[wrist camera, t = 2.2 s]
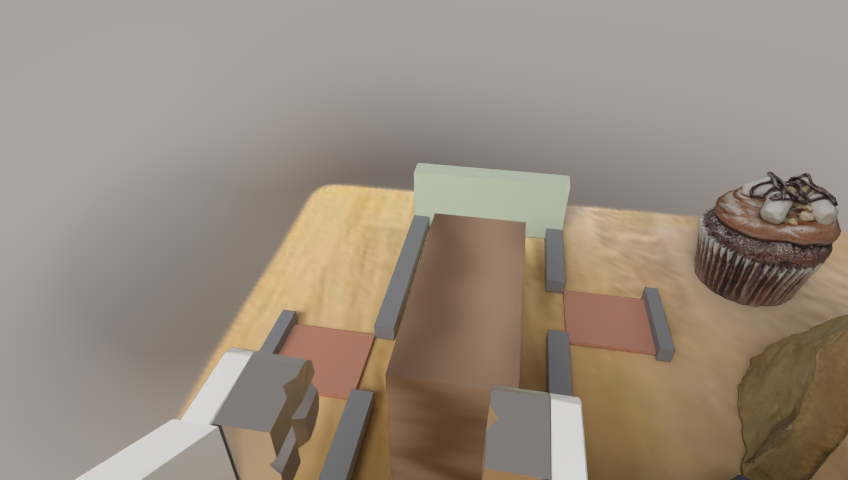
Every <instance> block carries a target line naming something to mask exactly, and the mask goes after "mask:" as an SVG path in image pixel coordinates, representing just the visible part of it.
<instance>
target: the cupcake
mask: <svg viewBox="0 0 848 480" xmlns="http://www.w3.org/2000/svg"><path fill="white" fill-rule="evenodd" d="M767 174H768V176H765V177H762V178H759V179H757V180H753V181H749V182H746V183H744V184H743V186H742V187H741V188H739V189H736V190H732V191H729V192H727V193H726V194H724V195H722V196H721V197H719V198H718V200H717V202H716V207H713V209H709V211H706V213H705V214H702V216H701V217H700V221H699V233H698V244H697V252H696V258H695V273H696V275H697V277H698V278H699V280H700V281H701V282H702V283H704V284H705V285H706V286H707V287H708V288H709V289H710V290H711V291H713V292H714V293H716V294H718V295H720V296H722V297H724V298H726V299H727V300H731V301H735V302H737V303H739V304H742V305H749V306H752V307H757V306H776V305H780V304H782V303H785V302H787V301H788V300H790V299H791V297H792V296H793V295H794V294H795V293H796V292H797V291H798V290H799V288H800V287H801V286H802V285H803V284H804V283H805V282H806V281H807V279H808V278H809V277H810V276H811V275H812V274H814V272H815V271H816V270H817V269H818V268H819V267H820V266H821V265H822V264H823V263H824V262H825V260H826V259H827V258H828V256H829V255H830V254H831V252H832V243H833V242H834V241H836V240H837V238H838V237H839V235H840V232H841V230H840V227H839V223H838V220H837V214H838V210H837V208H836V207H835V206H837V205H838V204H837V202H836V198H835V197H834V196H833V195H831V194H830V193H829V192H827V191H826V190H825V189H824V188H822V187H819V186H816V185H815V184H814V183H813V182H812V179H811V176H810V174H807V173H805V174H797V175H794V176H793V177H791V178H790V179H789V180H788V181H787V182H783V181H782V180H781V179H780V178H778V177H777V176H776V175H775V174H773V173H771V172H768V173H767Z"/></svg>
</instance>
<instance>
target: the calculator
mask: <svg viewBox="0 0 848 480" xmlns="http://www.w3.org/2000/svg"><path fill="white" fill-rule="evenodd" d="M731 480H750V479H749V478H747V477H746V476H743V475H738V476H736V477H734V478H733V479H731Z"/></svg>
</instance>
